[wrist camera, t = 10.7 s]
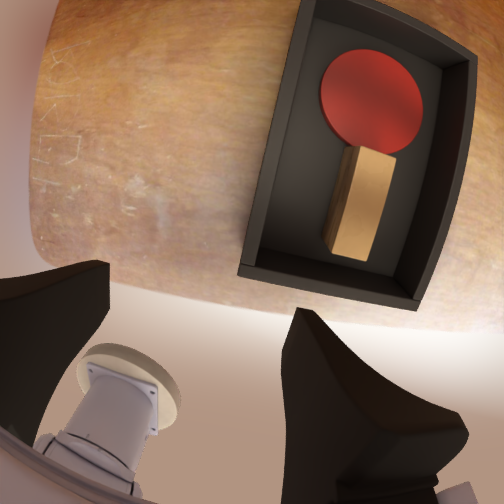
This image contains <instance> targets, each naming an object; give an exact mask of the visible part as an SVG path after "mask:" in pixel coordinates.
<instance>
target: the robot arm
mask: <svg viewBox="0 0 504 504" xmlns="http://www.w3.org/2000/svg"><path fill="white" fill-rule="evenodd" d="M109 285H110V263H107V262H103V261H100V260H90V261H85V262H80V263H76V264H72V265H68V266H64V267H60V268H57V269H53V270H48V271H44V272H40V273H36V274H31V275H26V276H20V277H12V278H4V279H0V504H157V503H154V502H151V501H147V500H144V499H142V491H141V489H140V486H139V484H138V483H136V482H134V481H133V479H134V476H135V471H136V469H137V466H138V464H139V461H140V458H141V455H142V452H143V450H144V447H145V444H146V441H147V438H148V436H149V434H151V435H155V436H157V435H158V387H157V386H156V385H155V384H152V383H149V382H146V381H143V380H139V379H136V378H133V377H130V376H127V375H124V374H122V373H119V372H116V371H113V370H110V369H108V368H105V367H102V366H100V365H97V364H95V363H92V362H88V363H87V364H86V367H87V372H88V377H89V382H90V388H89V390H88V392H87V393H86V395H85V396H84V398H83V400H82V401H81V403H80V404H79V406H78V408H77V409H76V411H75V412H74V414H73V416H72V417H71V419H70V421H69V422H68V424H67V426H66V427H65V429H64V431H62V430H60V431H59V433H58V435H57V436H56V437H55V436H54V435H53V434H51V433H49V434H43V435H41V436H40V437H39V438H38V440H37V441H36V442H35V444H34V441H35V438H36V434H37V431H38V428H39V425H40V423H41V420H42V417H43V415H44V412H45V410H46V407H47V405H48V403H49V401H50V399H51V397H52V395H53V393H54V390H55V388H56V386H57V385H58V383H59V381H60V379H61V378H62V376H63V374H64V372H65V370H66V369H67V368H68V366H69V365H70V363H71V362H72V360H73V359H74V358H75V357H76V355H77V354H78V353H79V351H80V350H81V349H82V347H84V345H85V344H86V343H87V342H88V340H89V339H90V338H91V336H92V335H93V334H94V333H95V332H96V330H97V329H98V328H99V326H100V325H101V323H102V321H103V320H104V318H105V316H106V315H107V313H108V311H109V309H110V286H109ZM281 379H282V390H283V399H284V409H285V419H286V448H285V466H284V478H283V488H282V498H281V504H478V502H477V499H476V497H475V494H474V492H473V489H472V487H471V484H470V482H464V483H462V484H459V485H456V486H453V487H451V488H448V489H445V490H443V491H441V492H439V493H437V494H435V491H434V488H433V487H434V486H436V485H437V484H438V482H439V480H438V478H437V475H436V474H437V473H438V472H439V471H440V470H441V469H442V468H443V467H445V466H446V465H447V464H448V463H449V462H450V461H451V460H452V459H453V458H454V457H455V456H456V455H457V454H458V453H459V452H460V451H461V450H462V449H463V447H464V446H465V444H466V442H467V440H468V437H469V432H468V430H467V428H466V426H465V424H464V422H463V420H462V419H461V417H460V415H459V414H458V413H457V412H454V411H451V410H449V409H446V408H443V407H440V406H438V405H435V404H432V403H430V402H428V401H425V400H424V399H421V398H419V397H417V396H415V395H413V394H411V393H409V392H407V391H406V390H404V389H402V388H401V387H399V386H397V385H396V384H394V383H392V382H391V381H389V380H387V379H386V378H385V377H383V376H382V375H380V374H379V373H378V372H376V371H375V370H374V369H373V368H371V367H370V366H368V365H367V364H366V363H365V362H364V361H363V360H361V359H360V358H359V357H358V356H357V355H356V354H355V353H354V352H353V351H352V350H351V349H350V348H348V347H347V346H346V345H345V344H344V343H343V341H341V339H340V338H338V336H337V335H336V334H335V333H334V332H333V331H332V330H331V329H330V328H329V327H328V325H327V324H326V323H325V322H324V321H323V320H322V319H321V318H320V317H319V316H318V315H317V314H316V313H315V312H314V311H313V310H309V309H304V308H299V307H297V308H296V311H295V314H294V317H293V320H292V323H291V326H290V330H289V332H288V335H287V338H286V340H285V343H284V346H283V349H282V358H281ZM33 444H34V445H33Z"/></svg>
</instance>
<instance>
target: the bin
mask: <svg viewBox="0 0 504 504" xmlns="http://www.w3.org/2000/svg"><path fill="white" fill-rule="evenodd" d="M356 49H368V50H374V51H378V52H381V53H384V54H386V55H388V56H390V57H392V58H393V59H395V60H396V61H397V62H399V63H400V64H401V65H402V66H403V67H404V68H405V69H406V70H407V71H408V72H409V73H410V75H411V76H412V78H413V79H414V81H415V82H416V84H417V86H418V89H419V91H420V94H421V98H422V104H423V118H422V123H421V126H420V129H419V131H418V133H417V135H416V137H415V138H414V139H413V141H412V142H411V143H410V144H409V145H407V146H406V147H405V148H403V149H401V150H399V151H397V152H394V153H390V154H386V155H389V156H392V157H394V158H396V163H395V167H394V171H393V175H392V179H391V183H390V186H389V190H388V194H387V197H386V201H385V204H384V208H383V211H382V215H381V218H380V221H379V225H378V228H377V231H376V234H375V237H374V240H373V243H372V246H371V249H370V252H369V255H368V258H367V261H362V260H358V259H354V258H350V257H346V256H342V255H337V254H333V253H331V251H330V250H329V248H328V247H327V245H326V244H325V242H324V240H323V239H322V237H321V235H322V231H323V228H324V224H325V221H326V217H327V214H328V210H329V207H330V203H331V199H332V196H333V192H334V188H335V184H336V180H337V176H338V172H339V169H340V164H341V160H342V156H343V152H344V148H345V147H348V145H347V144H345V143H344V142H343V141H341V140H340V139H339V138H338V137H337V136H336V135H335V134H334V133H333V131H332V130H331V129H330V127H329V126H328V124H327V123H326V121H325V119H324V117H323V114H322V112H321V108H320V104H319V84H320V80H321V77H322V75H323V73H324V71H325V70H326V68H327V67H328V66H329V64H330V63H331V62H332V61H333V60H334V59H335V58H337V57H338V56H339V55H341V54H343V53H345V52H348V51H351V50H356ZM477 65H478V56H476V55H475V54H474V53H472V52H471V51H469V50H468V49H466V48H465V47H463V46H462V45H460V44H459V43H457V42H456V41H454V40H452V39H451V38H449V37H448V36H446V35H444V34H443V33H441V32H439V31H437V30H436V29H434V28H432V27H430V26H428V25H427V24H425V23H423V22H421V21H419V20H417V19H415V18H413V17H411V16H409V15H407V14H405V13H403V12H401V11H398V10H396V9H394V8H392V7H389V6H387V5H385V4H382V3H380V2H377V1H375V0H301V2H300V6H299V10H298V14H297V18H296V22H295V26H294V30H293V34H292V39H291V43H290V47H289V51H288V55H287V59H286V63H285V68H284V72H283V76H282V80H281V84H280V89H279V93H278V97H277V101H276V105H275V110H274V114H273V118H272V123H271V127H270V131H269V135H268V140H267V144H266V148H265V153H264V157H263V161H262V166H261V170H260V175H259V179H258V183H257V188H256V192H255V197H254V201H253V205H252V210H251V214H250V219H249V223H248V228H247V232H246V237H245V241H244V246H243V250H242V255H241V259H240V264H239V268H238V273H237V276H239V277H244V278H248V279H253V280H258V281H262V282H267V283H272V284H276V285H281V286H286V287H291V288H295V289H300V290H305V291H310V292H315V293H320V294H325V295H330V296H335V297H340V298H345V299H350V300H356V301H361V302H366V303H372V304H377V305H382V306H388V307H393V308H399V309H404V310H410V311H417V309H418V307H419V305H420V303H421V300H422V298H423V296H424V294H425V292H426V289H427V287H428V284H429V282H430V280H431V277H432V275H433V272H434V270H435V267H436V265H437V262H438V259H439V257H440V254H441V251H442V248H443V245H444V242H445V240H446V237H447V234H448V230H449V227H450V224H451V221H452V218H453V214H454V211H455V207H456V204H457V200H458V196H459V192H460V188H461V184H462V180H463V176H464V171H465V167H466V162H467V157H468V151H469V146H470V140H471V134H472V127H473V119H474V111H475V101H476V88H477Z"/></svg>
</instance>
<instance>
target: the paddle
mask: <svg viewBox="0 0 504 504" xmlns="http://www.w3.org/2000/svg"><path fill="white" fill-rule="evenodd" d="M319 104H320V108H321V112H322V114H323V117H324V119H325V121H326V123H327V124H328V126H329V127H330V129H331V130H332V131H333V133H334V134H335V135H336V136H337V137H338V138H339V139H340V140H341V141H343V142H344V143H345V144H347V145H348V147H345V148H344V152H343V156H342V160H341V164H340V169H339V172H338V176H337V180H336V184H335V188H334V192H333V196H332V199H331V203H330V207H329V210H328V214H327V217H326V221H325V224H324V228H323V231H322V235H321V237H322V239H323V240H324V242H325V244H326V245H327V247H328V248H329V250H330V251H331V253H333V254H337V255H342V256H346V257H350V258H354V259H358V260H362V261H367V258H368V255H369V252H370V249H371V246H372V243H373V240H374V237H375V234H376V231H377V228H378V225H379V221H380V218H381V215H382V211H383V208H384V204H385V201H386V197H387V194H388V190H389V186H390V183H391V179H392V175H393V171H394V167H395V163H396V158H394V157H392V156H389V155H386V154H390V153H394V152H397V151H399V150H401V149H403V148H405V147H406V146H407V145H409V144H410V143H411V142H412V141H413V139H414V138H415V137H416V135H417V133H418V131H419V129H420V126H421V123H422V118H423V104H422V98H421V94H420V91H419V89H418V86H417V84H416V82H415V81H414V79H413V78H412V76H411V75H410V73H409V72H408V71H407V70H406V69H405V68H404V67H403V66H402V65H401V64H400V63H399V62H397V61H396V60H395V59H393V58H392V57H390V56H388V55H386V54H384V53H381V52H378V51H374V50H368V49H356V50H351V51H348V52H345V53H343V54H341V55H339V56H338V57H337V58H335V59H334V60H333V61H332V62H331V63H330V64H329V66H328V67H327V68H326V70H325V71H324V73H323V75H322V77H321V80H320V84H319Z"/></svg>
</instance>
